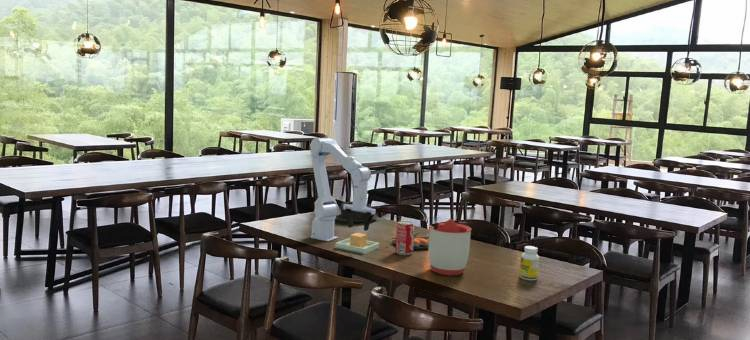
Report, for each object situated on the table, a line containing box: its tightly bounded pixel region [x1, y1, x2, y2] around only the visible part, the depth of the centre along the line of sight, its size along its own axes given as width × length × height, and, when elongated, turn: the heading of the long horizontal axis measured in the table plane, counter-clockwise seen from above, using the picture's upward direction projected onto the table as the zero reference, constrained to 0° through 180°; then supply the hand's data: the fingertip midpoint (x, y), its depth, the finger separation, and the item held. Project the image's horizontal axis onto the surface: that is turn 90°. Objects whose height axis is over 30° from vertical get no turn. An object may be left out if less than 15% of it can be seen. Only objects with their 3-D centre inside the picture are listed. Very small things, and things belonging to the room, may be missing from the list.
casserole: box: [335, 201, 379, 224], centre depth 300 cm, size 25×19×8 cm
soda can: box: [395, 220, 415, 256], centre depth 245 cm, size 7×7×13 cm
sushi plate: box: [391, 232, 429, 250], centre depth 267 cm, size 29×30×4 cm
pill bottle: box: [519, 245, 540, 281], centre depth 221 cm, size 6×6×12 cm
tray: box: [334, 237, 380, 255], centre depth 250 cm, size 14×12×2 cm
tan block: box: [349, 232, 368, 248], centre depth 250 cm, size 5×5×5 cm
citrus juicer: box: [425, 218, 473, 277], centre depth 224 cm, size 16×17×20 cm
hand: (358, 228), depth 249 cm, fingers open, 7 cm apart
